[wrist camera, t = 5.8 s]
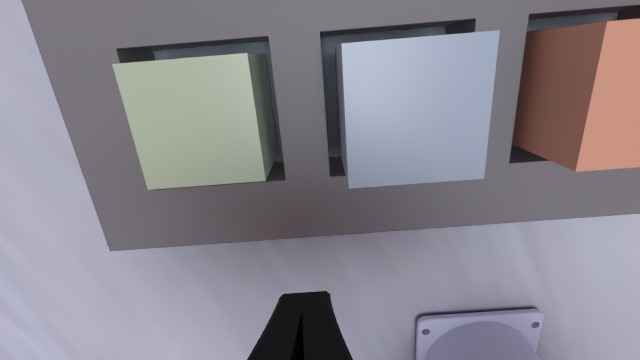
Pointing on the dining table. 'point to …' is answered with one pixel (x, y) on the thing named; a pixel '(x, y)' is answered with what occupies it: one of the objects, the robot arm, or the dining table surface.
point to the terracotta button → (581, 96)
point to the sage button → (200, 119)
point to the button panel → (301, 122)
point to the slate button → (415, 108)
